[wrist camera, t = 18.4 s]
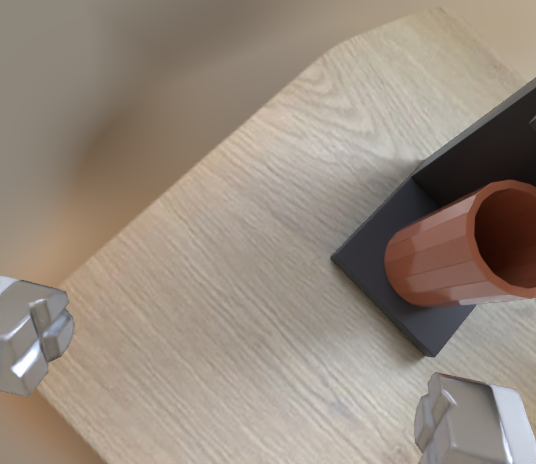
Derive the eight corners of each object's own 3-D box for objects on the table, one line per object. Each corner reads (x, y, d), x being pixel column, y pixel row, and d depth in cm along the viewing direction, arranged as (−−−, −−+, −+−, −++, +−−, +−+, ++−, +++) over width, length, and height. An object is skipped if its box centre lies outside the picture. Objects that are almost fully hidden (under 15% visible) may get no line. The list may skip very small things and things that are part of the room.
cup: (367, 253, 30) (442, 218, 21) (427, 209, 32) (521, 159, 23) (418, 325, 29) (519, 322, 20) (477, 276, 31) (595, 254, 22)
